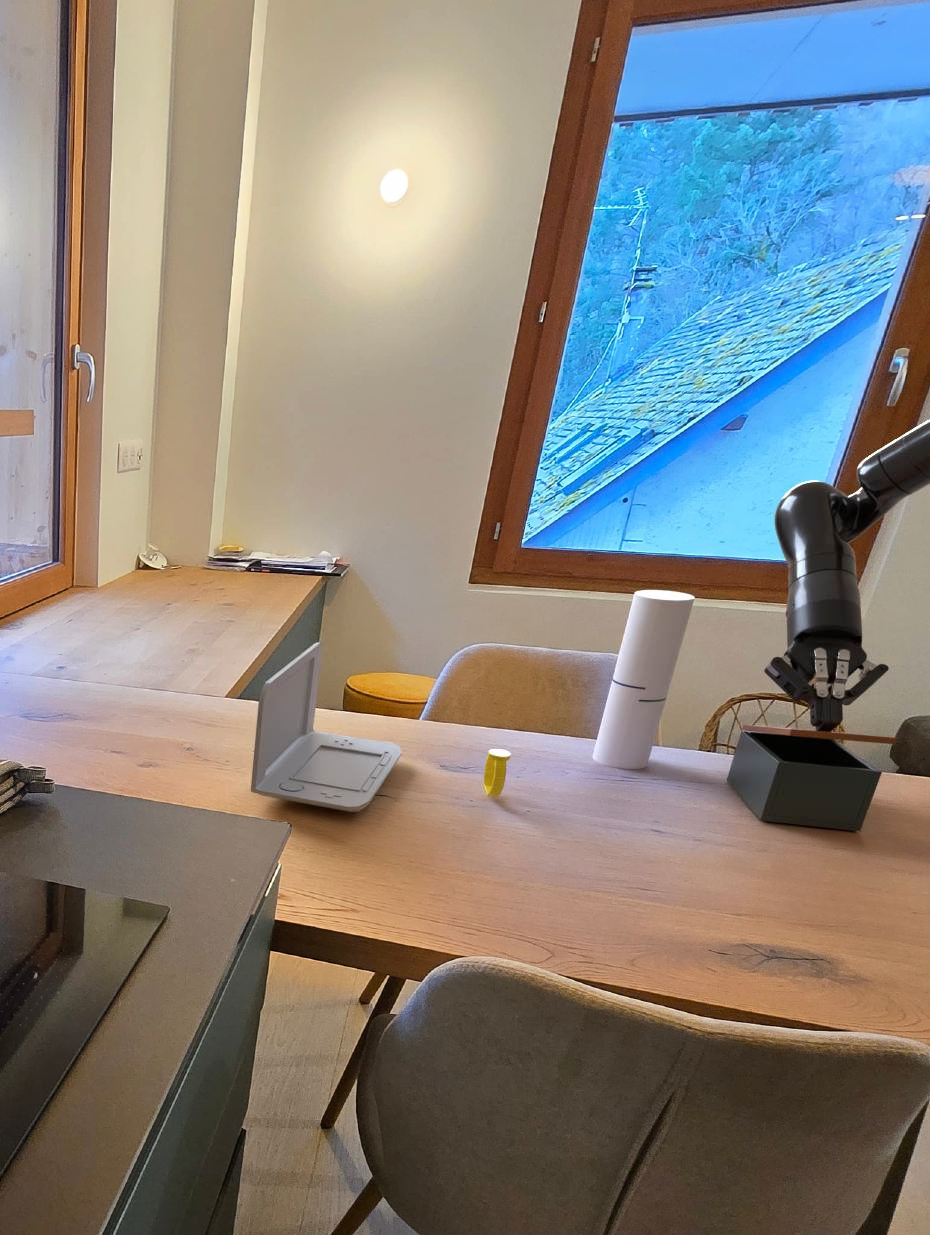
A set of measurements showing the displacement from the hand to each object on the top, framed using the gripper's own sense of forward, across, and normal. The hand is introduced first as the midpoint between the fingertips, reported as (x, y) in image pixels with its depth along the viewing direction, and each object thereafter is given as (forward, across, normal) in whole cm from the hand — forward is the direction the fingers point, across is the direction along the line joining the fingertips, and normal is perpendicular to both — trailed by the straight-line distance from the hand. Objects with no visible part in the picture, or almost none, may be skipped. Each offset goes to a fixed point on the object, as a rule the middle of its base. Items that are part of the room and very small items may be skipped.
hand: (827, 728), depth 120 cm
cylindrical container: (-3, -18, +19) cm, 27 cm away
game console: (+12, -58, +3) cm, 59 cm away
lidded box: (+6, 0, +11) cm, 12 cm away
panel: (-1, 0, +4) cm, 4 cm away
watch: (+12, -37, +4) cm, 39 cm away
